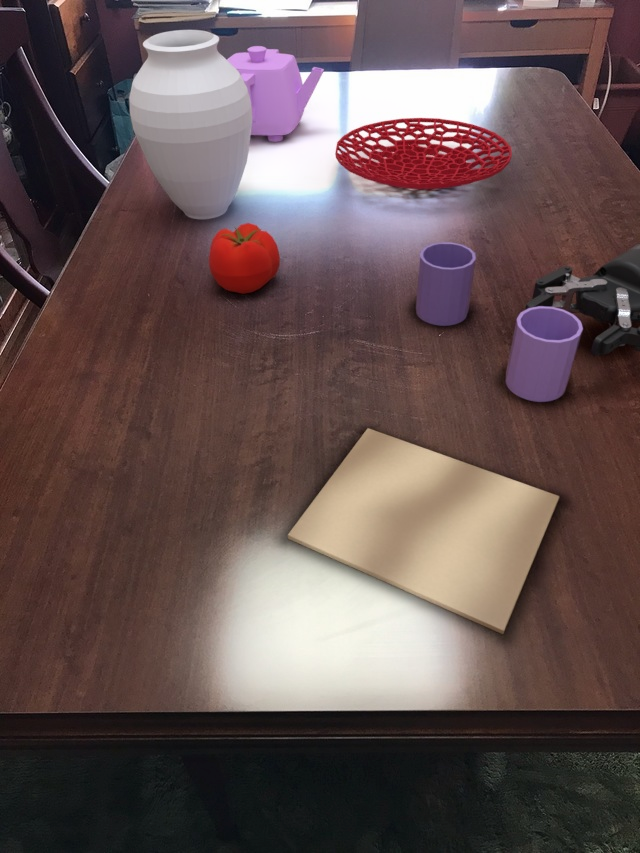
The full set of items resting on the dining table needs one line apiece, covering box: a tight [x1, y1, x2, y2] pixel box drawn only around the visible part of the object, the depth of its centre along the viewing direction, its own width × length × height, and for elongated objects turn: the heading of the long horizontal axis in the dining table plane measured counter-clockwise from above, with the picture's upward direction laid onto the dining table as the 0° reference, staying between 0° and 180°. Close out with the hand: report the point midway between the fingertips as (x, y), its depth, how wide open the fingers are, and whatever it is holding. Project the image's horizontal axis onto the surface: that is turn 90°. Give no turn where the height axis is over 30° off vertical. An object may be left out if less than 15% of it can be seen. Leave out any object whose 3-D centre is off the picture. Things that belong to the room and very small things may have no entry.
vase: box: [128, 29, 252, 220], centre depth 103 cm, size 18×18×25 cm
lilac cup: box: [415, 241, 477, 327], centre depth 86 cm, size 7×7×8 cm
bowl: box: [334, 117, 513, 190], centre depth 117 cm, size 29×30×5 cm
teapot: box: [226, 45, 325, 143], centre depth 132 cm, size 19×18×15 cm
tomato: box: [208, 222, 281, 295], centre depth 92 cm, size 9×9×8 cm
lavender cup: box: [504, 306, 584, 403], centre depth 75 cm, size 7×7×8 cm
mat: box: [287, 427, 560, 635], centre depth 63 cm, size 20×16×1 cm
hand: (560, 331), depth 74 cm, fingers open, 8 cm apart
